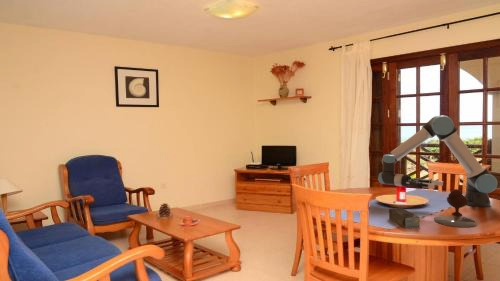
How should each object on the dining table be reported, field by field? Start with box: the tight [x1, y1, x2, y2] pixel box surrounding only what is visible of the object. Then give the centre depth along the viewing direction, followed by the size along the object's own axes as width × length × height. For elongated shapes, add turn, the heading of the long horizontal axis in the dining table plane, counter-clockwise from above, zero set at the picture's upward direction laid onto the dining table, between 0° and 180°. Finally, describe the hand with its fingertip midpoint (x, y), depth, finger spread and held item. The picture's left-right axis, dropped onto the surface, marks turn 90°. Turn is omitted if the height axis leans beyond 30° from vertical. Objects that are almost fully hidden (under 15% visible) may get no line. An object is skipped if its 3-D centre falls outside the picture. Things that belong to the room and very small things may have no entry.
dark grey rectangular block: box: [388, 207, 421, 230], centre depth 193 cm, size 8×19×7 cm, turn 3°
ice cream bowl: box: [446, 188, 468, 217], centre depth 210 cm, size 11×11×15 cm
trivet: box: [433, 215, 478, 228], centre depth 195 cm, size 20×20×1 cm
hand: (438, 185), depth 216 cm, fingers open, 13 cm apart
